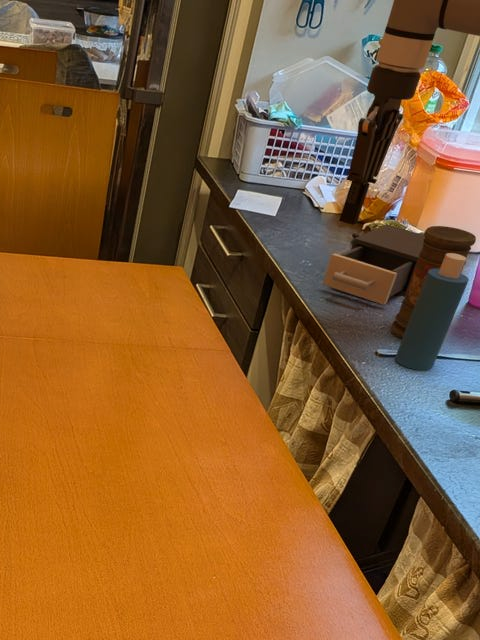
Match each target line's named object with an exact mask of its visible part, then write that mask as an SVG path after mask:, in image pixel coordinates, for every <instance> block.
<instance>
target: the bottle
mask: <svg viewBox="0 0 480 640" xmlns="http://www.w3.org/2000/svg"><path fill="white" fill-rule="evenodd" d="M465 261H466V262H467V258H466V257H464V256H462V255H459V254H454V253H447V254H446V255H445V258H444V260H443V263H442V265H441V268H440V269H438V268H436V269H430V270H429V271H428V273H427V276H426V278H425V281H424V284H423V286H422V289H421V291H420V294H419V297H418V299H417V302H416V304H415V307H414V310H413V312H412V315H411V317H410V320H409V323H408V325H407V328H406V330H405V333H404V336H403V338H402V339H401V341H400V343H399V346H398V349H397V352H396V354H395V356H394V360H395V362H396V363H397V364H399V363H400V364H399V365H400V366H402V365H403V366H402V367H405V366H406V367H405V368H407V367H409V368H408V369H410V368H412V369H411V370H415V369H418V370H417V371H430V370H432V369H433V368H432V367H434V365H435V363H436V360H437V358H438V355H439V353H440V350H441V348H442V346H443V343H444V341H445V339H446V336H447V334H448V331H449V329H450V327H451V324H452V321H453V320H454V317H455V315H456V312H457V311H458V307H459V305H460V303H461V301H462V297H463V296H464V292H465V290H466V289H467V286H468V283H469V281H470V279H469V277H468V276H466V274H463V273H462V272H463V270H462V268H463V269H464V267H465V265H464V263H465ZM463 266H464V267H463ZM461 271H462V272H461ZM431 368H432V369H431ZM429 369H430V370H429Z"/></svg>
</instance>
